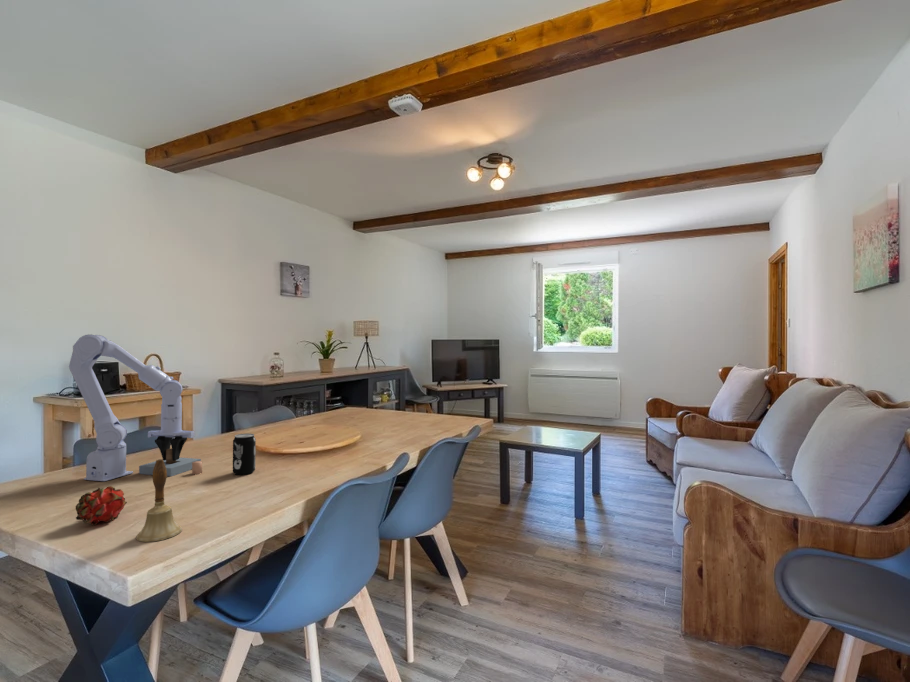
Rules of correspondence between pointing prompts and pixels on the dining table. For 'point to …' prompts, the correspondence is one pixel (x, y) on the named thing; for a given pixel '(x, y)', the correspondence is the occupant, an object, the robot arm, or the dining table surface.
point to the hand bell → (159, 511)
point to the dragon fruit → (100, 505)
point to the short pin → (197, 467)
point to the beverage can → (244, 454)
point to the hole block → (170, 466)
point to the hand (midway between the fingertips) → (171, 459)
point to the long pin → (169, 457)
